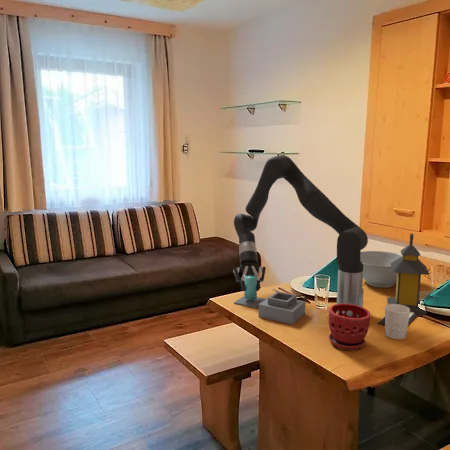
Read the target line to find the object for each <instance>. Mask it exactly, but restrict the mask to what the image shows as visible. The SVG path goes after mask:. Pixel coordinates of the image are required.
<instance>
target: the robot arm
mask: <svg viewBox="0 0 450 450" xmlns="http://www.w3.org/2000/svg"><path fill="white" fill-rule="evenodd" d="M279 179H284V180H286V182H287V183H288V184H290V185H291V186H292V188H293V189H294V191H295V193H296V196H297V199H298V201H299V203H300V205H301V206H302V207H303V208H304V209H305V210H306V211H307V212H308V213H309V215H311V216H312V217H313V218H315V219H317V220H318V221H320V222H322V223H323V224H325V225H327V226H329V227H331V228H332V229H333V230H334V231H335V232H336V233H337V234H338V235H337V240H336V263H337V265H338V266H337V268H338V269H337V270H338V271H337V285H336V286H337V291H336V304H353V305H358V306H361V307H363V306H364V292H365V291H364V290H365V289H364V288H363V281H364V279H363V263H362V262H361V261H360V252H362V250H364V249H365V248H366V247H367V245H368V243H369V238H368V235H367V233H366V231H365V230H363V228H361V227H360V226H359V225H358V224H356V223H355V222H354V221H353V220H351V219H350V218H349V217H348V216H346V214H344V212H342V211H341V210H340V209H339V208H338V206H336V205H335V203H333V201H332V200H331V199H330V198H329V197H328V196H326V195H325V194H324V192H323V191H322V190H320V189H319V187H318V186H316V185H315V184H314V183H313V182H312V181H311V180H310V179H309V178H308V177H307V176H306V175H305V174H304V173H303V172H302V170H301V169H300V168H299V167H298V166H297V164H296V163H295V162H294V161H293V159H292V158H290V157H289V156H287V155H285V154H284V155H283V154H281V155H276V156H271V157H269V158H267V160H266V162H265V164H264V166H263V168H262V172H261V175H260V177H259V180H258V183H257V185H256V188H255V189H254V192H253V194H252V195H251V197H250V199H249V201H248V202H247V204H246V206H245V212H246V213H247V214H245V213H237V214H236V215H235V217H234V219H233V226H234V229H235V231H236V234H237V237H238V243H239V245H238V247H239V248H238V249H239V250H238V251H239V252H238V255H239V267H236V266H234V267H233V269H232V270H233V274H234V277H235V281H236V283H240V287H241V291H242V292H244V291H245V282H244V276H246V275H255V276H257V292H259V291H260V290H261V283H262V282H264V279H265V274H266V270H267V269H266V268H267V267H266V266H260V265H259V263H258V250H257V245H256V237H255V234H254V233H253V232H254V231H255V230H256V229H257V228H258V223H259V219H260V215H261V214H262V211H263V210H264V208H265V206H266V205H267V203H268V200H269V194H270V191H271V188H272V186H273V185H274V184H275V182H277V180H279ZM239 272H241V273H242V276H241V277H240V274H239ZM258 272H260V273H261V275H260V276H261V277H259V274H258ZM363 308H364V307H363ZM338 313H339V311H337V312H336V314H338ZM342 313H345V311H342ZM347 315H348V316H349V317H351V316H352V315H353V313H352V311H347ZM356 316H357V317H359V315H358V314H357V315H356Z"/></svg>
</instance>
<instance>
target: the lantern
mask: <svg viewBox="0 0 450 450" xmlns="http://www.w3.org/2000/svg"><path fill="white" fill-rule="evenodd" d="M413 244H414V233H410V234H409V244H408V245H407V246H405V247H404V248H402V249H401V250H400V254H401V255H402V257H400V258H399V259H397V260H395V261H394V262H392V263H390V264H391V270H392V272H396V273H397V283H395V284H396V286H395V296H393V297H392V296H387V298H386V302H387V305H388V304H400V305H404V306H406V307H408V308H409V309H410V312H413V313H418V315H423V316H425V315H427V314H428V311H427V312H426V311H424V310H422V309H420V308H419V307H418V304H420V301H421V300H422V299H420V291H421V289H420V288H421V277H422V276H423V275H425V276H429V275H430V273H429V269H428V267H427V266H426V265H425V263H423V262H422V261H421V260H420V259H419V257H421V252H420V251H419V250H418V249H417V248H416V247H415V245H413Z"/></svg>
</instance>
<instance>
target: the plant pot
mask: <svg viewBox="0 0 450 450" xmlns="http://www.w3.org/2000/svg"><path fill="white" fill-rule="evenodd" d="M337 311H339V313H337ZM342 311H345V313H342ZM347 311H352V313H353V315H352V316H348V315H347ZM357 314H358V315H359V316H358V317H357V316H356V315H357ZM370 324H371V312H370V311H369V310H368V309H367V308H365V307H361V306H358V305H353V304H337V303H336V304H333V305H331V306H330V307H329V311H328V326H329V331H330V334H329V336H328V340H329V341H330V343H331V344H332V345H333V346H335V347H336V348H338V349H342V350H348V351H353V350H359V349H361V348H363V347H365V346H364V345H365V344H366V340H365V339H366V337H367V334H368V332H369V328H370Z"/></svg>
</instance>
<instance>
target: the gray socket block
mask: <svg viewBox="0 0 450 450" xmlns="http://www.w3.org/2000/svg"><path fill="white" fill-rule="evenodd" d="M265 299H266V300H264V301H263V302H261V303H260V304H259V306H258V318H262V319H267V320H271V321H276V322H280V323H284V324H288V325H294V324H295V323H296V322H297V321H298V320H300V319H301V318H302V317H303V316H304V315H305V314H306V301H304V300H300V299H297V295H296V294H291V293H286V292H280V291H276V292H275V293H273V294H272V295H270V296H268V297H267V298H265Z"/></svg>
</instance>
